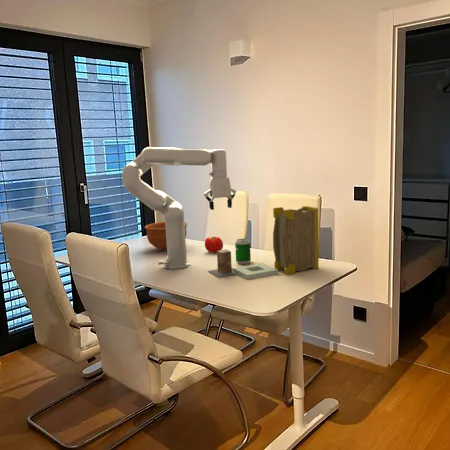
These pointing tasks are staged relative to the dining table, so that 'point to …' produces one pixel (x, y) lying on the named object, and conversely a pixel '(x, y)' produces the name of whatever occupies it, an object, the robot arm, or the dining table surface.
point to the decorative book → (295, 239)
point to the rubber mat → (220, 275)
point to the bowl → (158, 234)
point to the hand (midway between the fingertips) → (220, 208)
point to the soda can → (242, 251)
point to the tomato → (213, 244)
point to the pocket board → (248, 274)
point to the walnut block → (224, 261)
